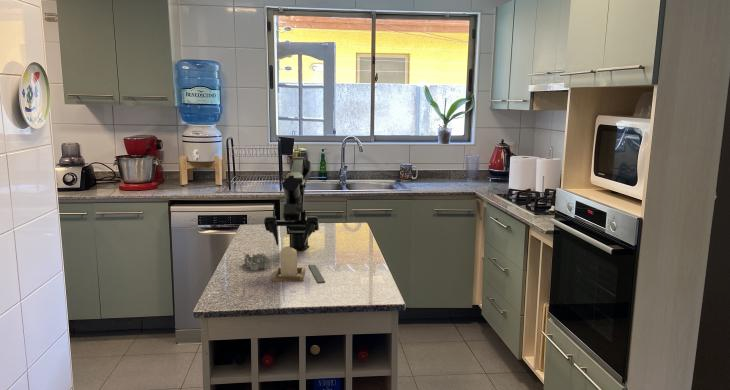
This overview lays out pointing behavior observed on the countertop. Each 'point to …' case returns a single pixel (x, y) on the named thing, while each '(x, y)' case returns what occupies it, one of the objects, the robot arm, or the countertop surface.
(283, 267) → the candle
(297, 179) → the robot arm
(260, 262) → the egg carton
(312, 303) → the countertop surface
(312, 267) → the strip
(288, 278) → the keeper frame
